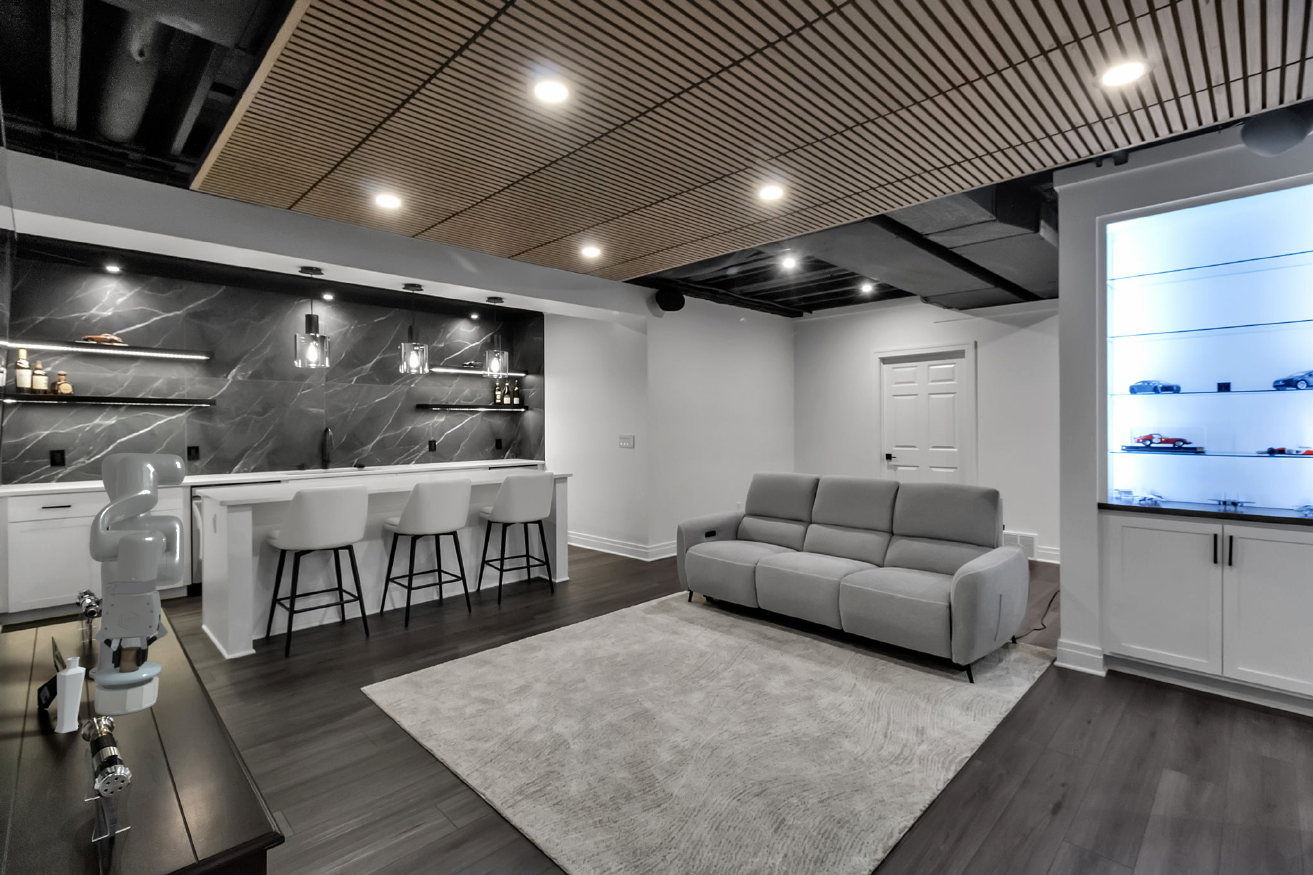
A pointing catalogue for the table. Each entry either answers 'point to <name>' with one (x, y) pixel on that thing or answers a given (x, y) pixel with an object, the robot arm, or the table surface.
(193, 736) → the table surface
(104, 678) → the lid
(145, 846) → the table surface
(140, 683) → the bowl
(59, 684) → the perfume bottle
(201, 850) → the table surface
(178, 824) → the table surface
